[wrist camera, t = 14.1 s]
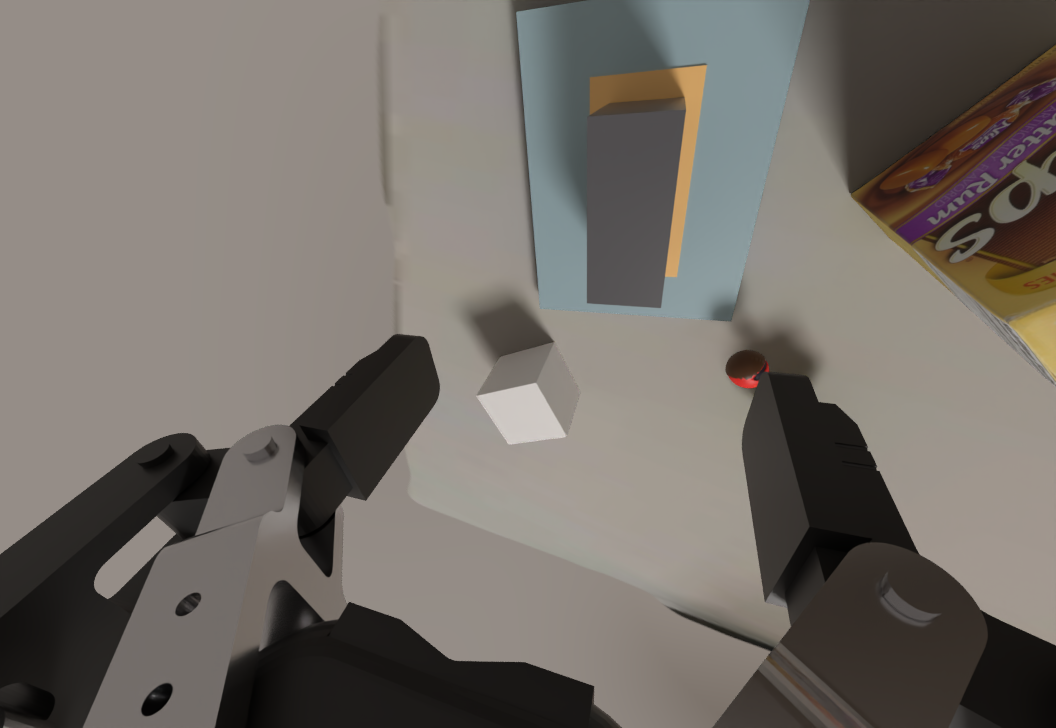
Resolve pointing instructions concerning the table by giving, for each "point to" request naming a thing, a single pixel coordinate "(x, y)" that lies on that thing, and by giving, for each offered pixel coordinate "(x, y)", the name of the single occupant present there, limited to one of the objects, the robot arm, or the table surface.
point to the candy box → (986, 210)
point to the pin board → (707, 145)
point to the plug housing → (631, 198)
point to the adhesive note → (531, 395)
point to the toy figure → (746, 368)
